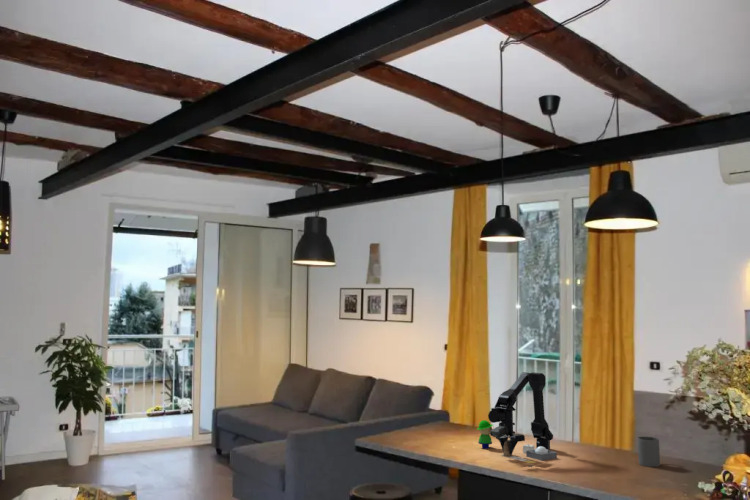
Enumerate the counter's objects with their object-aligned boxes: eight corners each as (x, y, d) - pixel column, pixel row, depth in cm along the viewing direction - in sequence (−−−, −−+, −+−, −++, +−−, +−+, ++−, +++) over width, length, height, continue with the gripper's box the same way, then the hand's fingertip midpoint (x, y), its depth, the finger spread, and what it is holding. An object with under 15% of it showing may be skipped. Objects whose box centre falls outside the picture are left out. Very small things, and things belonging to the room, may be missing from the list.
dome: (541, 456, 304) (541, 444, 305) (550, 458, 299) (550, 446, 300) (532, 457, 301) (532, 445, 302) (541, 459, 296) (541, 448, 297)
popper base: (541, 454, 307) (541, 448, 308) (556, 458, 299) (556, 452, 299) (526, 457, 302) (526, 450, 302) (541, 461, 294) (541, 454, 294)
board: (527, 452, 316) (527, 450, 316) (560, 461, 297) (560, 458, 297) (497, 457, 306) (497, 454, 306) (529, 466, 287) (529, 463, 287)
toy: (493, 452, 317) (493, 422, 319) (476, 451, 319) (476, 421, 321) (494, 448, 326) (493, 419, 328) (477, 447, 328) (476, 418, 329)
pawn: (508, 454, 307) (508, 439, 308) (513, 455, 303) (513, 441, 304) (501, 455, 305) (501, 440, 306) (507, 456, 301) (506, 441, 302)
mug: (654, 468, 284) (652, 441, 286) (635, 464, 291) (633, 438, 293) (668, 463, 293) (667, 437, 294) (649, 460, 300) (648, 434, 301)
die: (527, 452, 313) (527, 443, 313) (534, 453, 310) (534, 445, 310) (523, 453, 310) (523, 445, 310) (530, 454, 307) (530, 446, 307)
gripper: (481, 419, 310) (482, 451, 308) (507, 424, 294) (508, 459, 292) (498, 417, 315) (499, 449, 314) (525, 422, 299) (526, 456, 298)
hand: (507, 453), depth 304 cm, fingers closed on pawn, 4 cm apart
